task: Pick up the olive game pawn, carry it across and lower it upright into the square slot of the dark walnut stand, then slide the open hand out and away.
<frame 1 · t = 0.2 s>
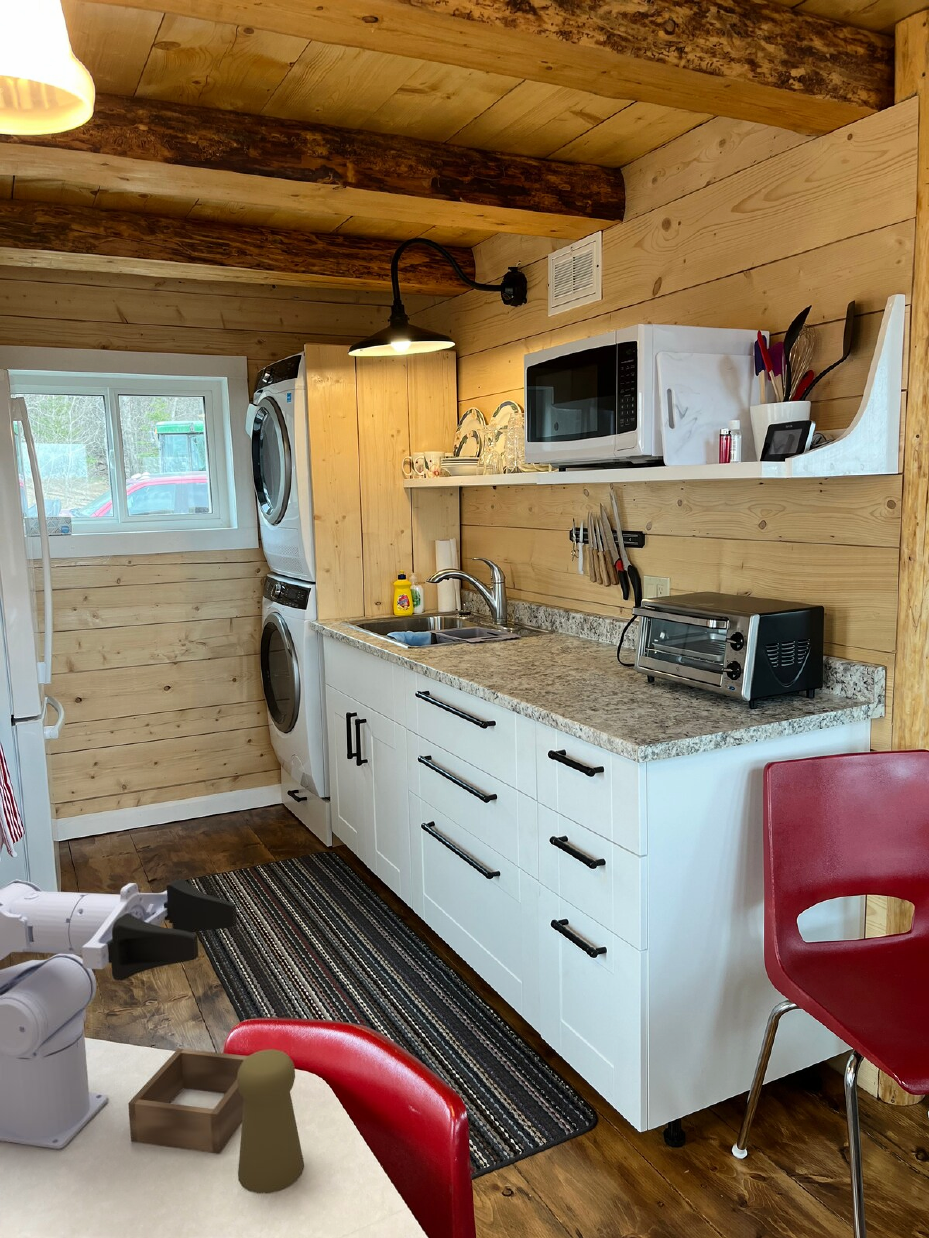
hand: (216, 930, 88), 22 cm above the table, tool horizontal, fingers open, 7 cm apart
olive game pawn: (271, 1171, 87), on the table
walnut stand: (199, 1116, 95), on the table
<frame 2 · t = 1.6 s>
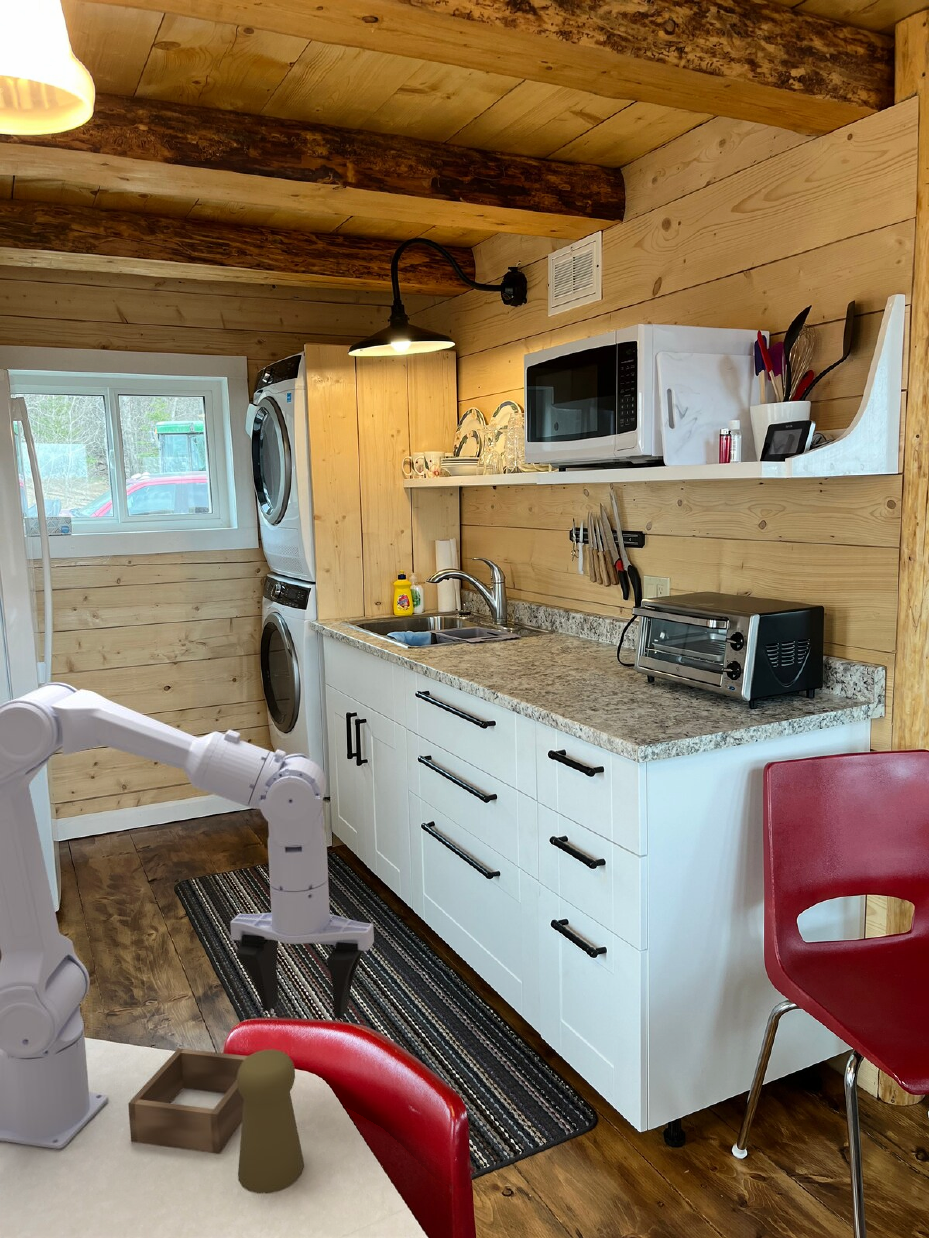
hand: (305, 1009, 95), 10 cm above the table, tool pointing down, fingers open, 7 cm apart
nothing on the table moved.
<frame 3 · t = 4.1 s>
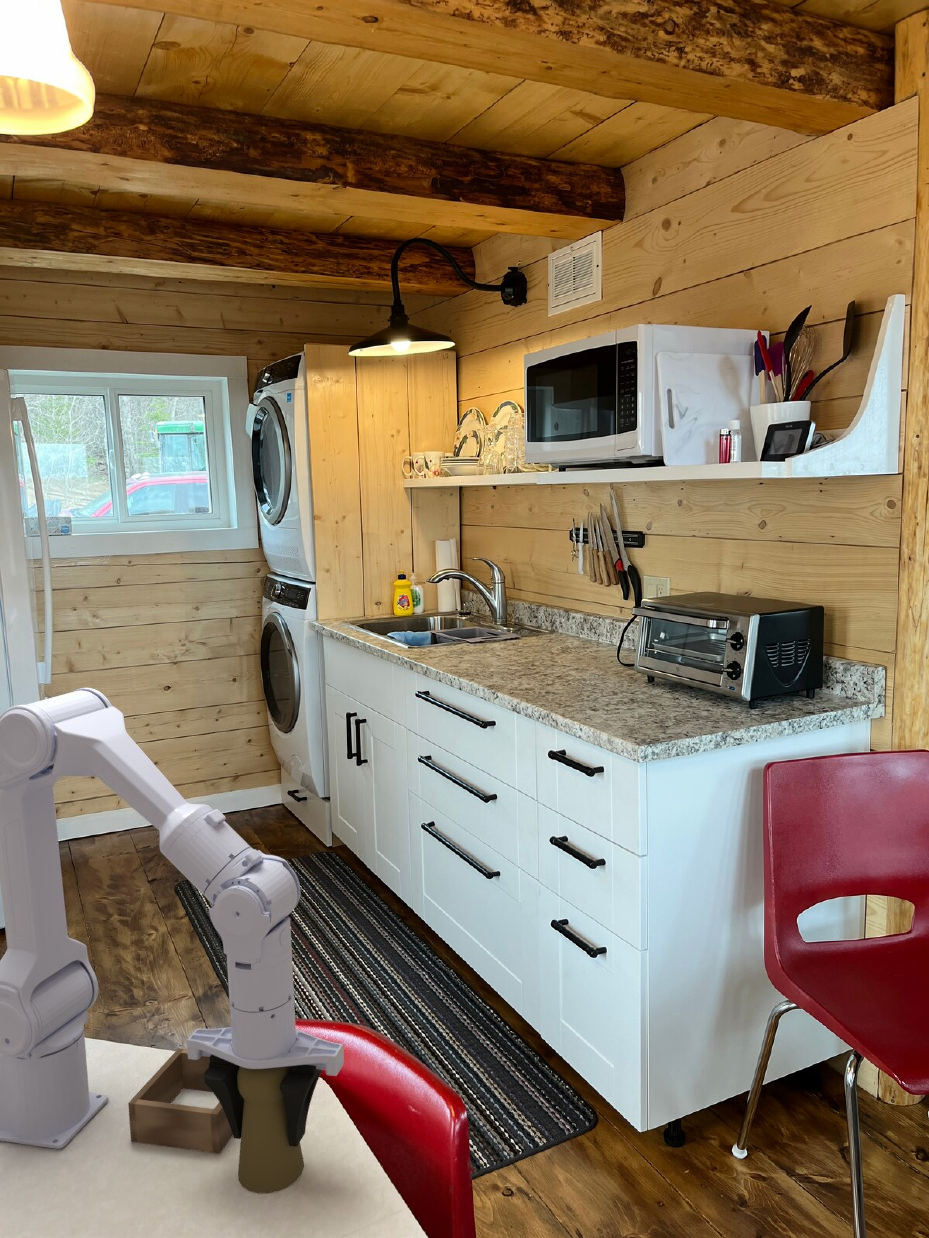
hand: (269, 1135, 86), 3 cm above the table, tool pointing down, fingers closed on olive game pawn, 5 cm apart
olive game pawn: (271, 1171, 87), on the table, touching gripper
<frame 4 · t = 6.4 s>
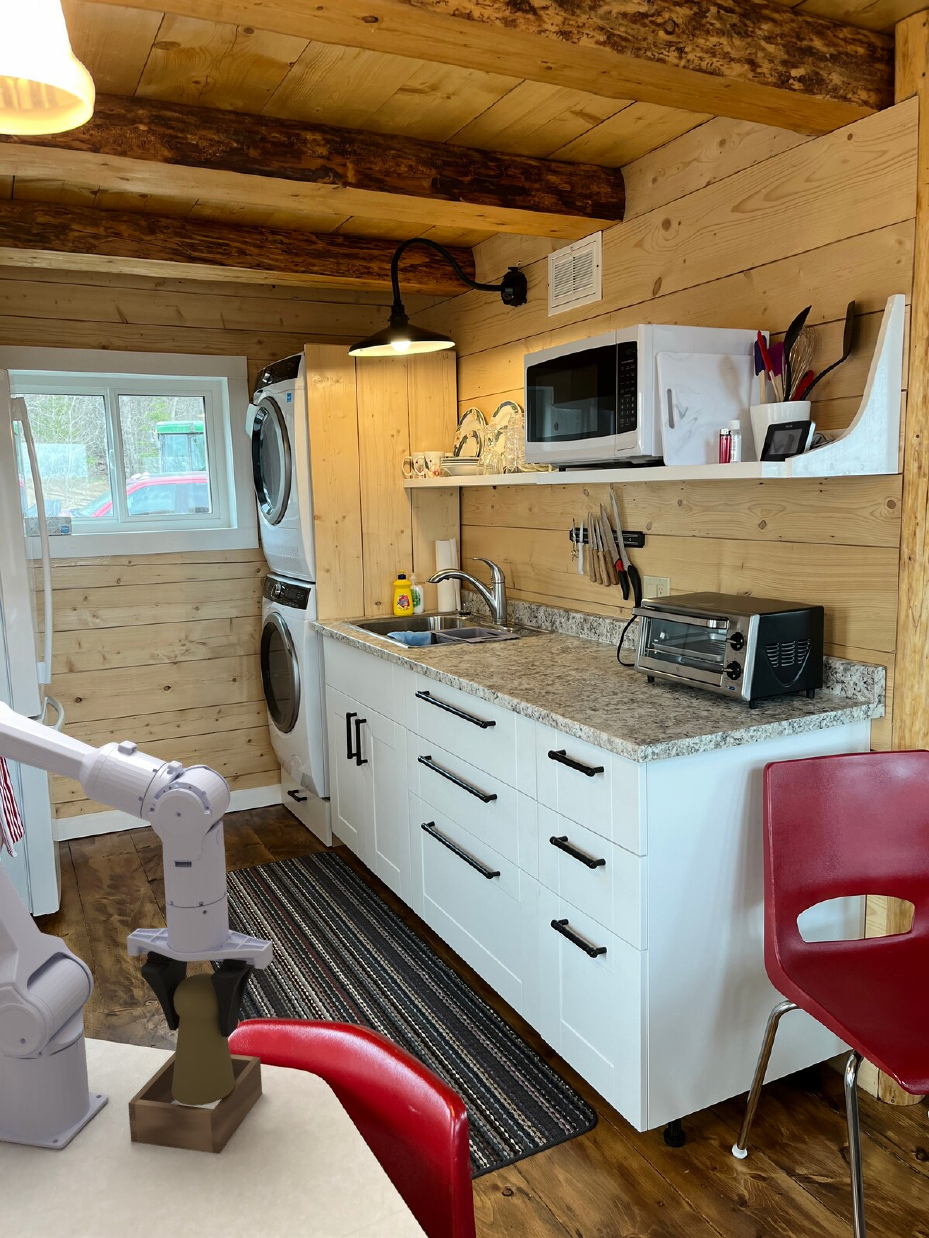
hand: (203, 1028, 92), 10 cm above the table, tool pointing down, fingers closed on olive game pawn, 5 cm apart
olive game pawn: (203, 1088, 92), point 4 cm above the table, touching gripper
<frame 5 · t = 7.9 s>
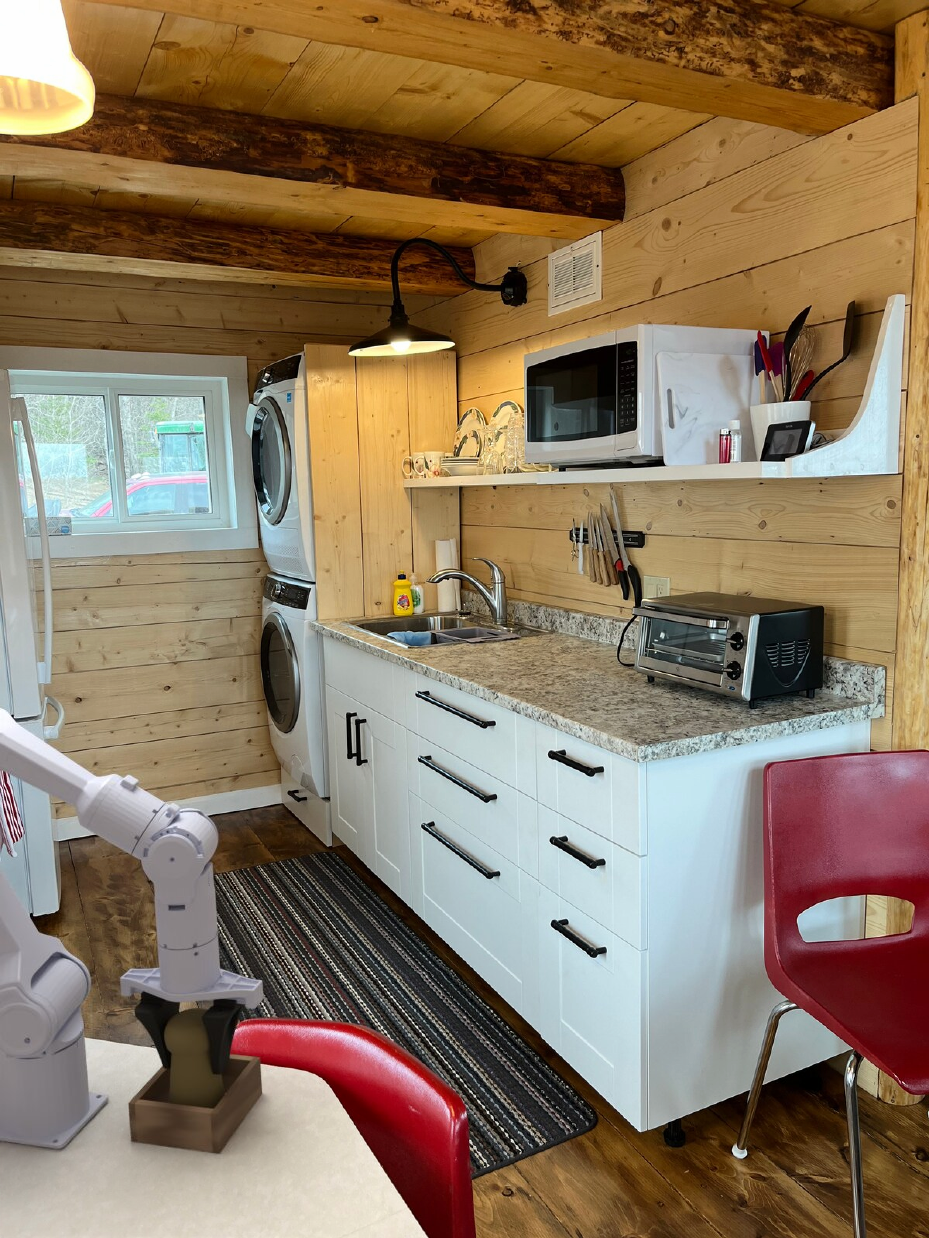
hand: (196, 1065, 94), 5 cm above the table, tool pointing down, fingers closed on olive game pawn, 5 cm apart
olive game pawn: (199, 1120, 94), resting in walnut stand, touching gripper
when the fingers open (5 cm above the table, at t = 8.3 s): olive game pawn stays where it is, resting in walnut stand.
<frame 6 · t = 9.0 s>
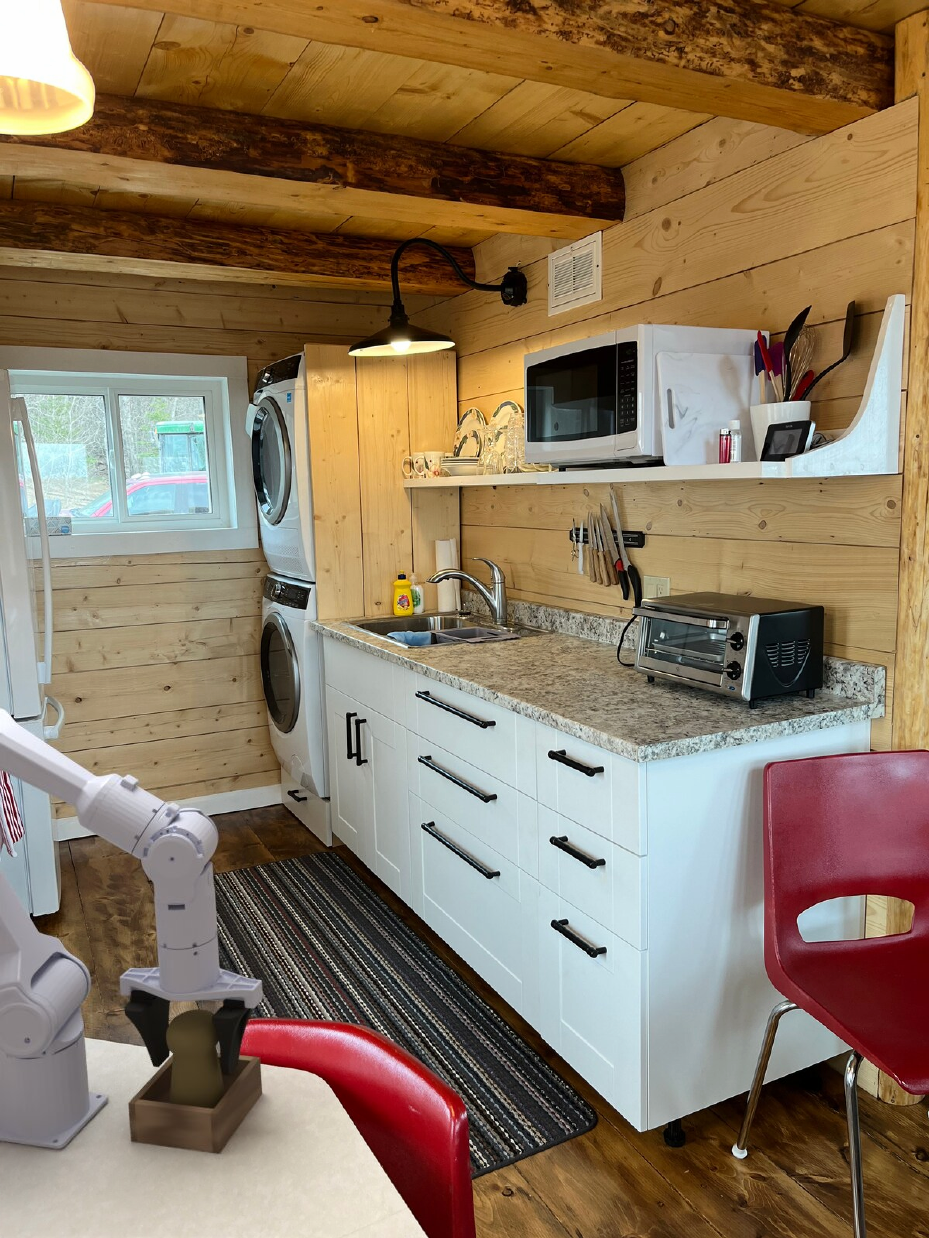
hand: (195, 1065, 94), 5 cm above the table, tool pointing down, fingers open, 7 cm apart
olive game pawn: (199, 1121, 94), resting in walnut stand
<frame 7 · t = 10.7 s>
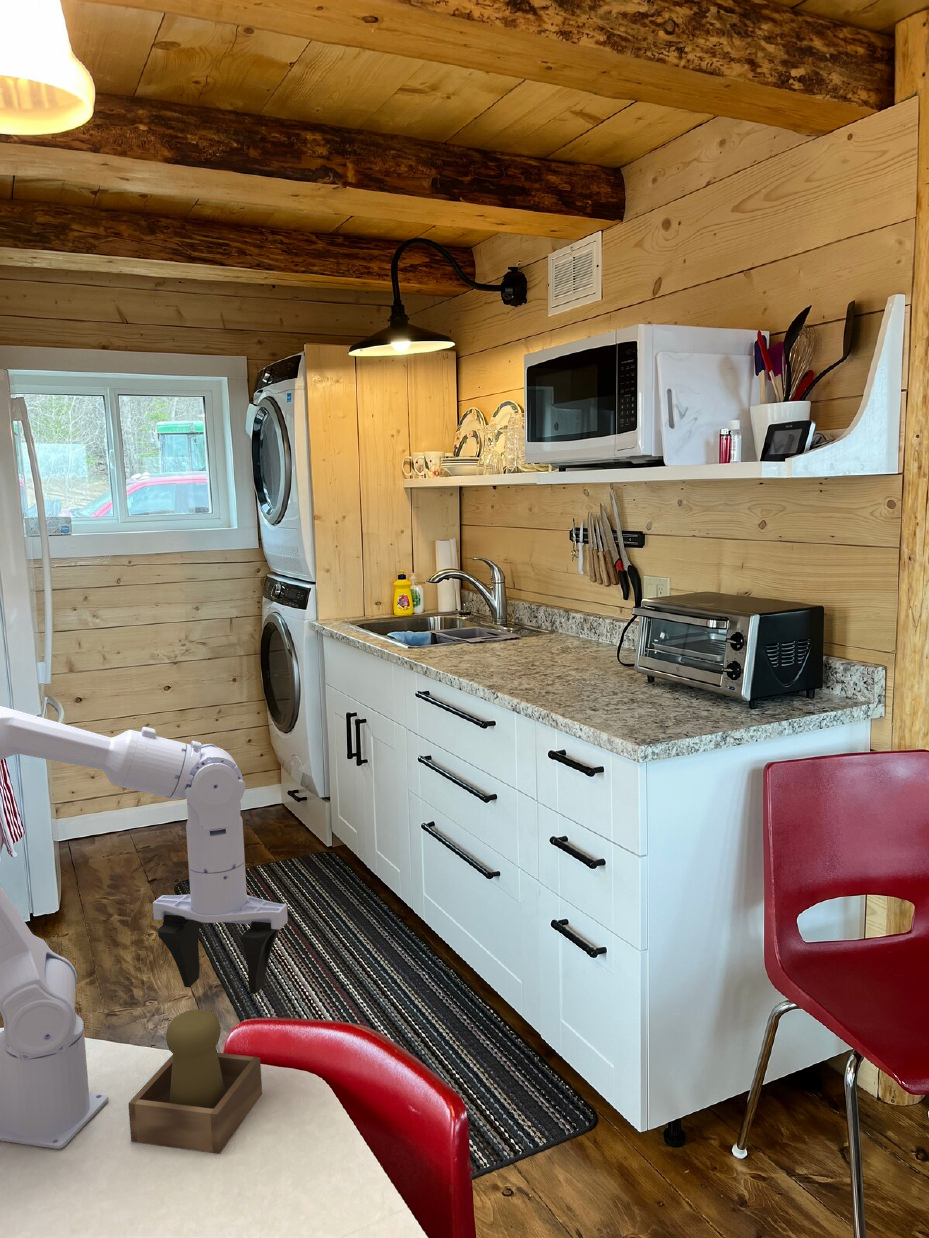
hand: (224, 985, 100), 10 cm above the table, tool pointing down, fingers open, 7 cm apart
nothing on the table moved.
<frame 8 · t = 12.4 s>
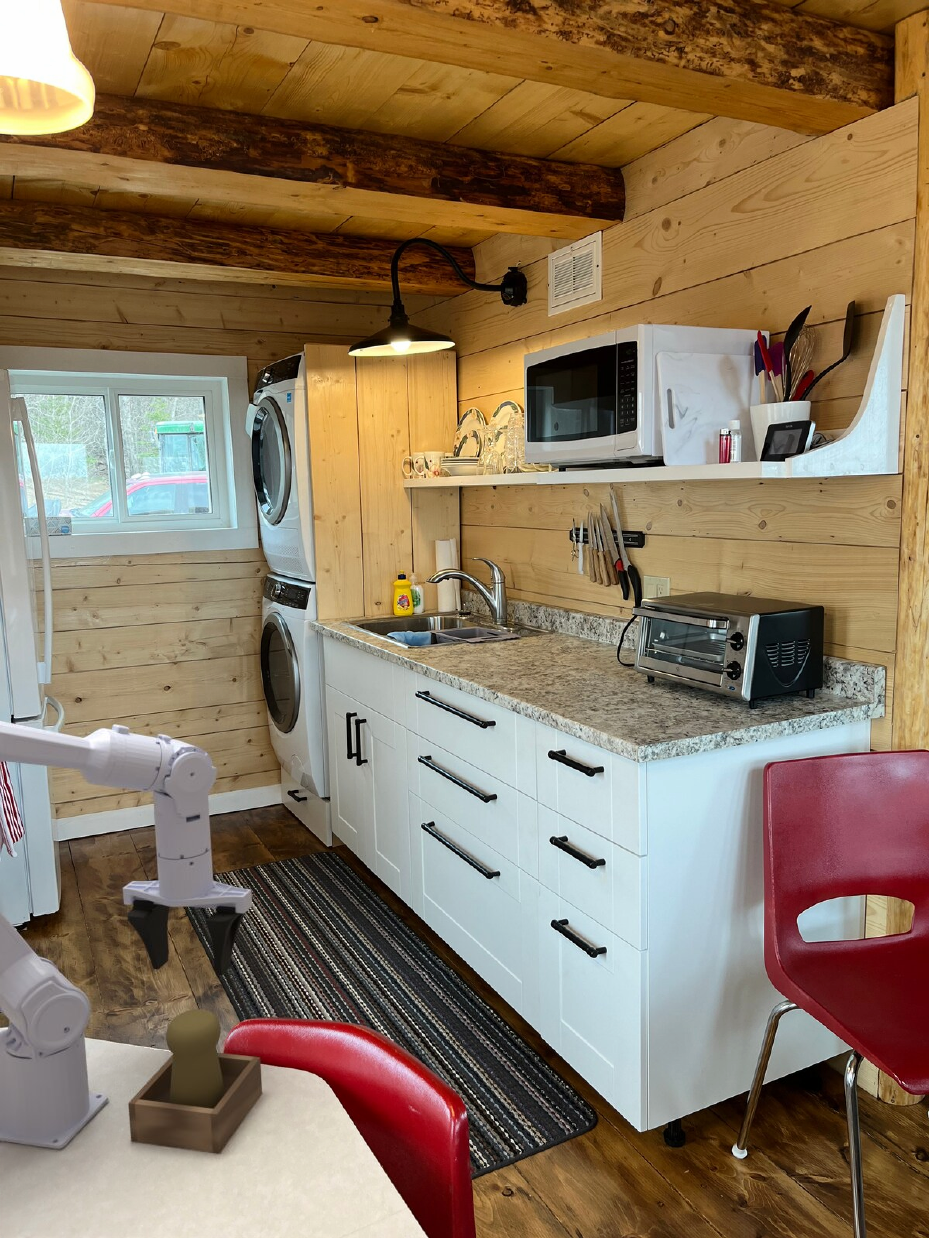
hand: (191, 967, 104), 10 cm above the table, tool pointing down, fingers open, 7 cm apart
nothing on the table moved.
at the end: olive game pawn 0.6 cm off-centre on the walnut stand, point 0.0 cm above the walnut stand's base; olive game pawn tilted 0°; the gripper is holding nothing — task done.
